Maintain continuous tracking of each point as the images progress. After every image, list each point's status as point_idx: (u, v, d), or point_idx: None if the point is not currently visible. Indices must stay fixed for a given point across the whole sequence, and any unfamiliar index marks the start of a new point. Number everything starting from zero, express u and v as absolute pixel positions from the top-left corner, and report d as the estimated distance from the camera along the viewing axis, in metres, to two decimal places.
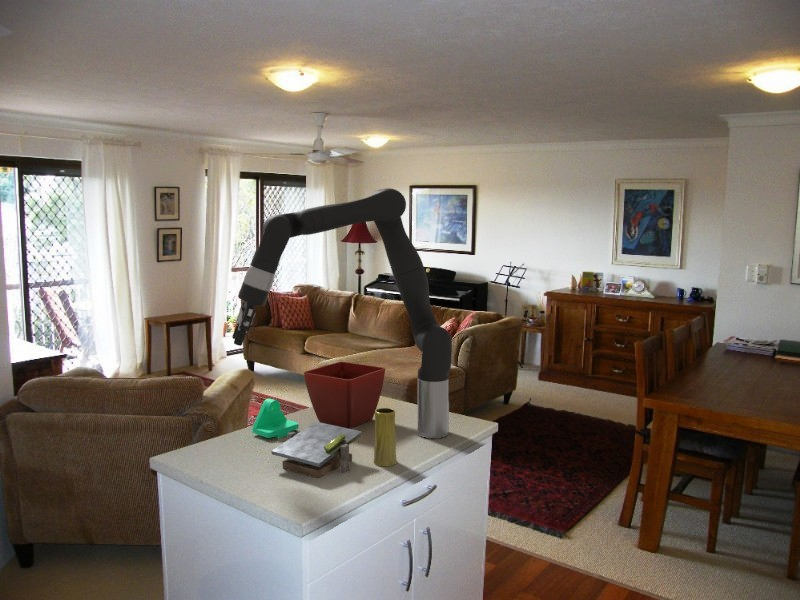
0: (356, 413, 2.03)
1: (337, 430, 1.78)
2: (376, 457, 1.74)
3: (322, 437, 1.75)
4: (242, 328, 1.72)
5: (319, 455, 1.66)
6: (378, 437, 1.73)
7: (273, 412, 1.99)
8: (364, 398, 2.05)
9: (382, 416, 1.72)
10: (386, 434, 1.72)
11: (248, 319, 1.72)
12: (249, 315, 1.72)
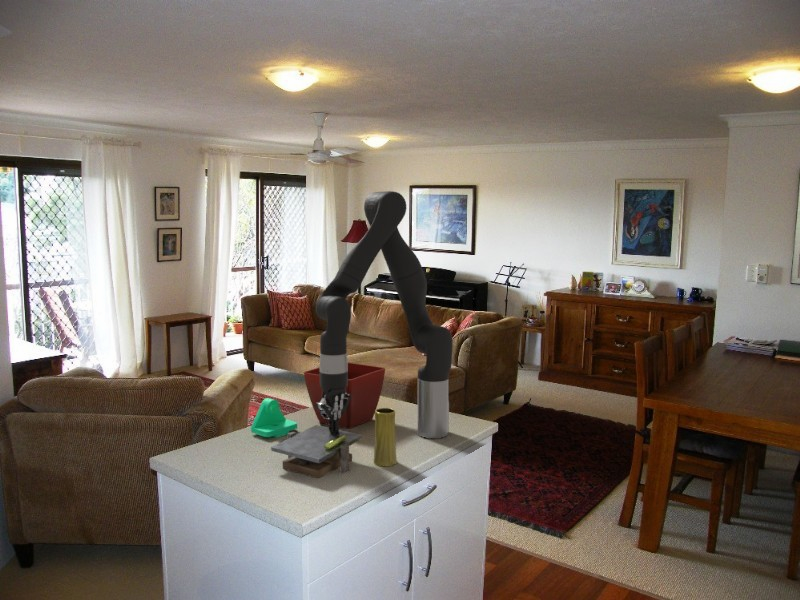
0: (355, 413, 2.03)
1: (337, 433, 1.79)
2: (376, 457, 1.74)
3: (323, 437, 1.75)
4: (325, 417, 1.76)
5: (319, 453, 1.66)
6: (378, 437, 1.73)
7: (272, 412, 1.99)
8: (364, 398, 2.05)
9: (382, 416, 1.72)
10: (386, 434, 1.72)
11: (323, 412, 1.75)
12: (321, 409, 1.74)
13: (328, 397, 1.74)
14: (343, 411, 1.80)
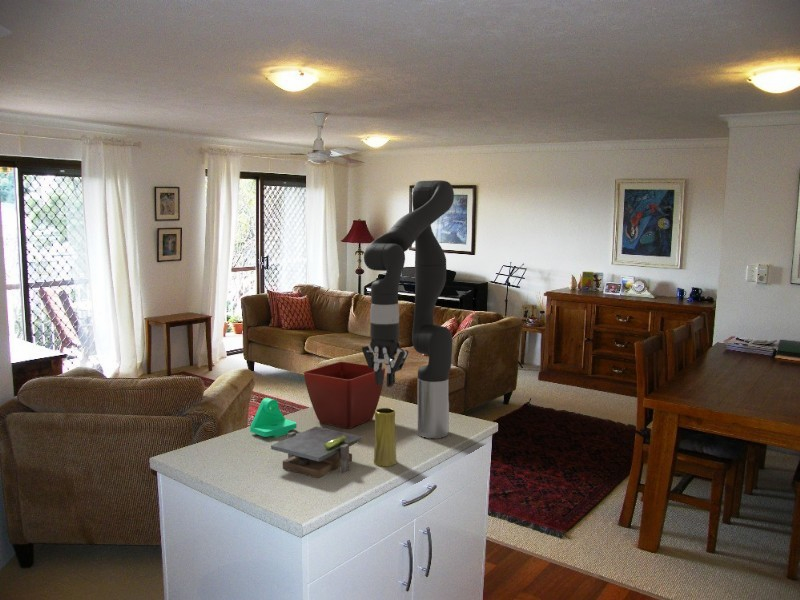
0: (355, 413, 2.03)
1: (337, 434, 1.79)
2: (376, 457, 1.74)
3: (323, 438, 1.75)
4: (397, 369, 1.70)
5: (319, 451, 1.66)
6: (378, 437, 1.73)
7: (271, 411, 2.00)
8: (364, 398, 2.05)
9: (382, 416, 1.72)
10: (386, 434, 1.72)
11: (402, 361, 1.70)
12: (404, 358, 1.69)
13: None
14: None
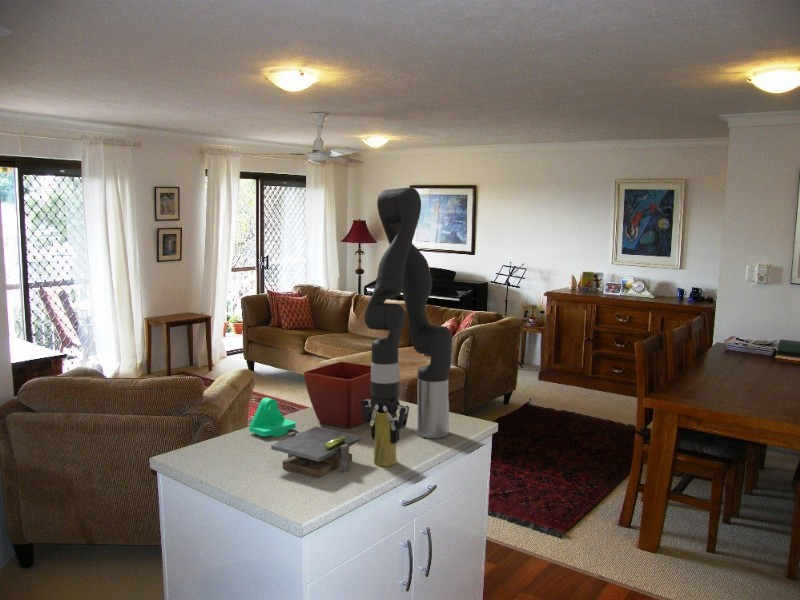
0: (355, 413, 2.03)
1: (337, 434, 1.79)
2: (376, 457, 1.74)
3: (323, 438, 1.75)
4: (402, 427, 1.71)
5: (319, 451, 1.66)
6: (378, 437, 1.73)
7: (270, 411, 2.00)
8: (364, 398, 2.05)
9: (382, 416, 1.72)
10: (386, 434, 1.72)
11: (405, 417, 1.71)
12: (405, 413, 1.71)
13: None
14: None
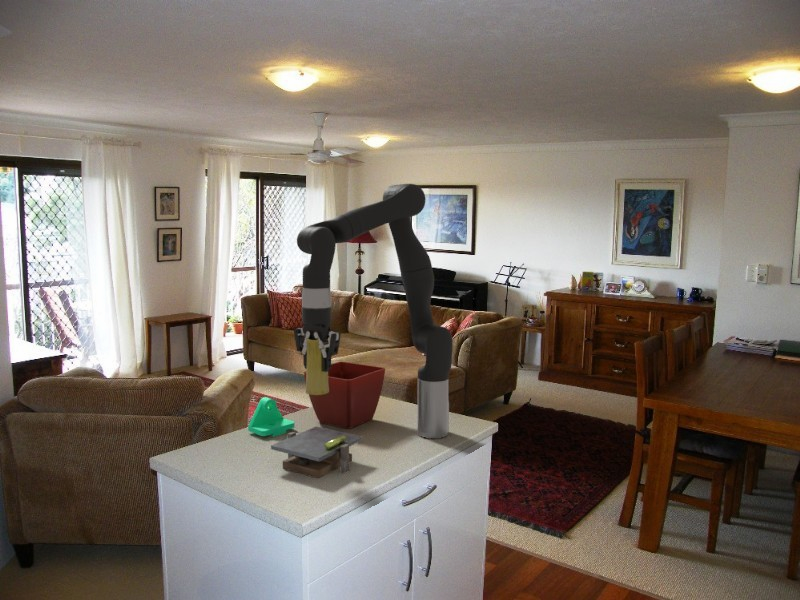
0: (355, 413, 2.03)
1: (337, 434, 1.79)
2: (307, 386, 1.70)
3: (323, 438, 1.75)
4: (333, 354, 1.67)
5: (319, 451, 1.66)
6: (309, 365, 1.69)
7: (269, 411, 2.00)
8: (364, 398, 2.05)
9: (313, 343, 1.68)
10: (317, 361, 1.68)
11: (336, 344, 1.67)
12: (337, 340, 1.67)
13: None
14: None
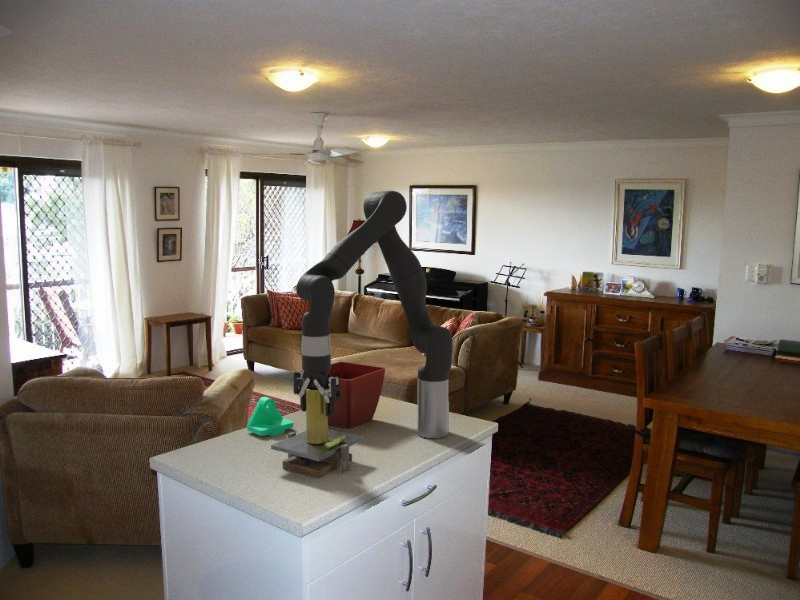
0: (355, 413, 2.03)
1: (337, 434, 1.79)
2: (308, 435, 1.72)
3: None
4: (336, 399, 1.68)
5: (319, 451, 1.66)
6: (309, 414, 1.71)
7: (268, 410, 2.01)
8: (364, 398, 2.05)
9: (312, 393, 1.70)
10: (317, 411, 1.70)
11: (338, 388, 1.68)
12: (337, 384, 1.68)
13: None
14: None
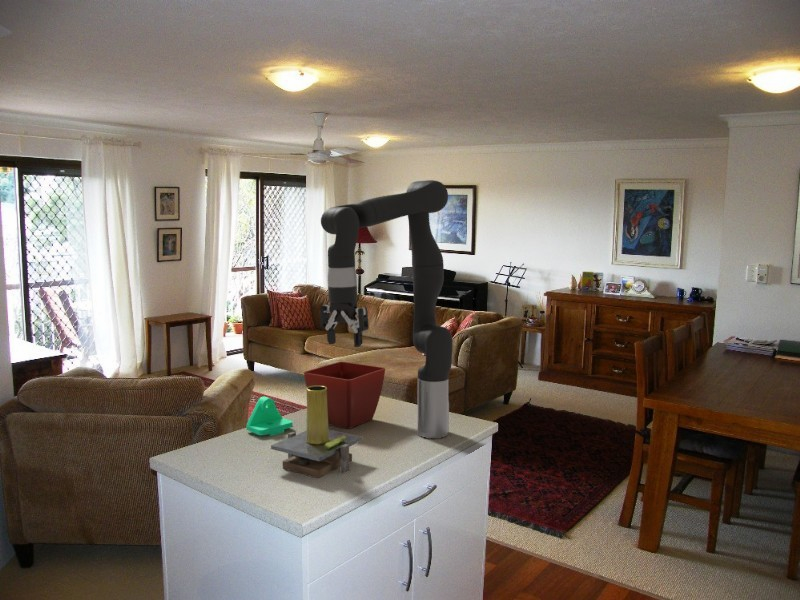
0: (355, 413, 2.03)
1: (337, 434, 1.79)
2: (308, 435, 1.72)
3: None
4: (364, 329, 1.70)
5: (319, 451, 1.66)
6: (309, 415, 1.70)
7: (267, 410, 2.01)
8: (364, 398, 2.05)
9: (313, 394, 1.69)
10: (317, 412, 1.70)
11: (365, 318, 1.70)
12: (364, 314, 1.70)
13: None
14: None
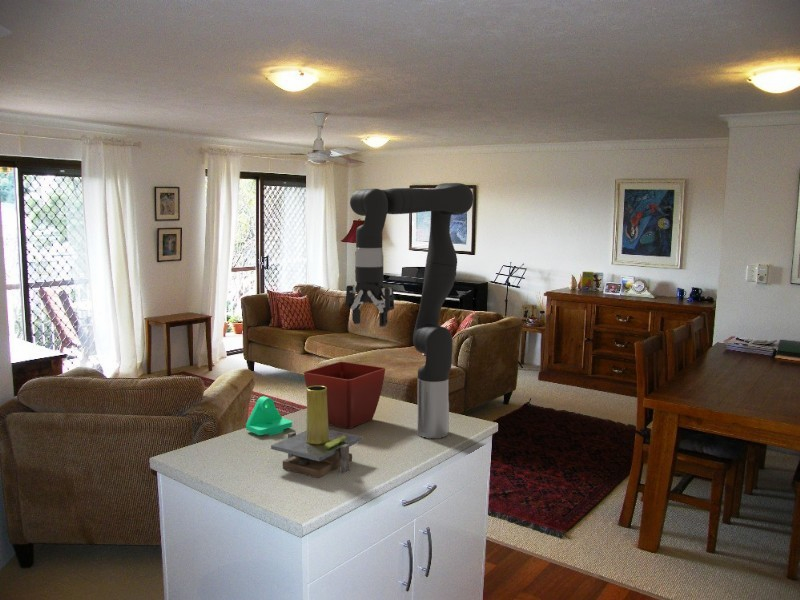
0: (355, 413, 2.03)
1: (337, 434, 1.79)
2: (308, 435, 1.72)
3: None
4: (390, 309, 1.73)
5: (319, 451, 1.66)
6: (309, 415, 1.70)
7: (266, 410, 2.01)
8: (364, 398, 2.05)
9: (313, 394, 1.69)
10: (318, 412, 1.70)
11: (391, 298, 1.73)
12: (390, 294, 1.73)
13: None
14: None
